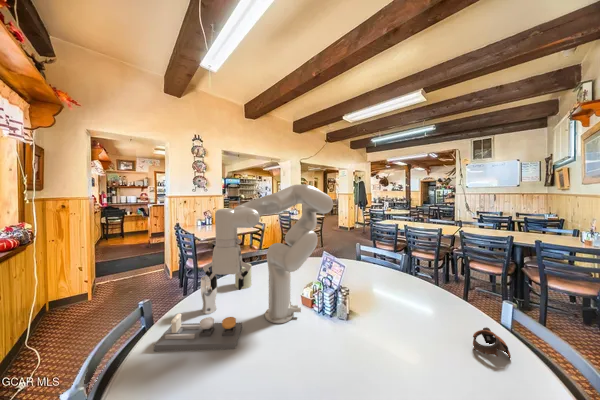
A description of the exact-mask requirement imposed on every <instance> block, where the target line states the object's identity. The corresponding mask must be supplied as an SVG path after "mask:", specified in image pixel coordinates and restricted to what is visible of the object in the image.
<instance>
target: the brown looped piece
mask: <svg viewBox="0 0 600 400" xmlns="http://www.w3.org/2000/svg"><path fill="white" fill-rule="evenodd" d="M478 336H482V338H483V340H484V342H485V344H486V343H489V344H488V345H483V344H481V343H480V342H478V341H477V338H478ZM472 337H473V341H472V347H473V346H474V347H473V349H474V348H475V349H476V351H478V352H479V353H482V354H483V355H485V354H486V355H494V356H495V357H499V354H498V353H499V352H503V351H504V352H506V353H507V354H508V355H507V354H506V353H505V354H506V355H507V357H508V356H509V357H508V359H509V358H511V353H510V350H509V347H508V345H507V343H506V342H505V341H504V339H502V338H501V337H500V336H499V335H497V334H496V333H494V332H493V331H491V329H490V328H489V327H487V326H486V327H483V328H482V329H479V330H477V331H476V332H474V333H473V335H472ZM490 344H492V345H490ZM475 349H474V350H475ZM497 349H498V350H497ZM498 351H499V352H498ZM504 352H503V353H504ZM511 359H512V358H511Z"/></svg>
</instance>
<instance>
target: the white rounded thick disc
mask: <svg viewBox="0 0 600 400" xmlns="http://www.w3.org/2000/svg"><path fill="white" fill-rule="evenodd" d="M199 323H200V328H201V329H206V330H207V329H209V328H211V327H212V326H213V325H214V323H215V318H214V317H211V316H208V317H204V318H202V319H201V320H200V321H199Z"/></svg>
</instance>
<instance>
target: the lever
mask: <svg viewBox="0 0 600 400" xmlns="http://www.w3.org/2000/svg"><path fill="white" fill-rule="evenodd" d="M170 324H171V325H172V332H171V333H170V334H180V333H181V332H182V330H183V328H180V327H181V324H182V314H181V312H180V313H177V314H176V315H175V316H174V317H173V318H172V320H171V321H170Z"/></svg>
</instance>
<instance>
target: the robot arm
mask: <svg viewBox="0 0 600 400" xmlns="http://www.w3.org/2000/svg"><path fill="white" fill-rule="evenodd" d="M299 204H300V205H301V208H302V210H301V211H302V212H301V216H300V218H299V219H298V220H297V221H296V222H295V223H294V225H292V226H291V227H290V229H288V231H287V232H286V234H285V236H284V241H285V243H286V244H284V243H281V242H276V243H273V244H271V245H270V246H268V249H267V251H266V263H267V268H268V308H267V309H266V310H265V312H264V317H265V320H267V321H268V322H270V323H273V324H284V323H287V322H290V321H291V320H292V319H293V318H294V315H295V313H302V312H301V311H302V309H301V307H298V304H295V305H293V304H292V301H291V290H292V289H291V287H292V286H291V285H292V284H291V278H292V276H291V273H294V272H296V271H298V270H299V269H300V268H301V267H302V266H303V265H304V263H305V262H306V261H307V260H308V259H309V258H310V257H311V256H312V253H313V252H314V251H315V249H316V248H317V245H318V239H319V238H318V234H317V233H316V232H315V231H314V230H315V229H316V227H317V223H318V219H317V213H318V214H328V213H330V212H331V211H332V210H333V207H334V201H333V199H332V196H330V195H329V194H327V193H326V192H323V191H322V190H320V189H319V188H317V187H315V186H313V185H311V184H293V185H290V186H288V187H285V188H283V189H281V190H279V191H276V192H273V193H271V194H268V195H265V196H261V197H258V198H255V199H251V200H249V201H246V202H244V203H241V204H239V205H237V206H236V207H234V208H220V209H217V210H215V213H214V214H215V215H214V221H215V223H214V224H215V230H214V231H215V246H214V247H213V251H212V258H211V262H209V263H207V264H204V266H203V267H202V269H203V271H204V273H205V276H208V277H209V279H210V281H211V287H212V290H214V289H215V288H216V287H217V288H218V279H217V278H218V277H217V275H235V274H236V275H237V276H238V277H239V280H238V288H237V289H238V290H239V291H241V290H242V289H241V288H242V287H243V286H244V277H245V276H246V275H247V274H248V272H249V270H250V268H251V269H252V266H250V265H249V264H250V263H249V264H247V263H248V262H244V261H243V257H242V249H241V245H240V244H241V243H242V239H240V238H239V237H238V228H239V229H240V228H241V229H243V228H244V229H245V228H246V229H250V228H253V227H256V226H257V225H258V224H259V222H260V219H261V218H260V217H261V216H263V215H264V216H265V215H275V214H279V213H281V212H284V211H286V210H288V209H291V208H292V207H294V206H297V205H299ZM242 267H244V268H246V270H245V271H244V272H242V270H241V269H242ZM209 268H211V270H210V269H209Z"/></svg>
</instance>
